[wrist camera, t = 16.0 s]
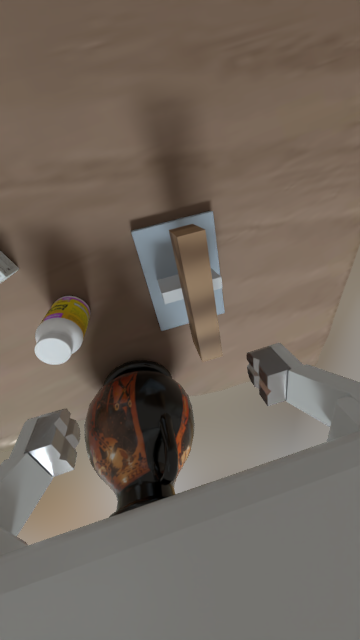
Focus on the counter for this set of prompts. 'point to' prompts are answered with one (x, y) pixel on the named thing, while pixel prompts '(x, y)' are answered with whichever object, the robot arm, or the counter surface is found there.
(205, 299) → the wooden block
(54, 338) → the supplement bottle
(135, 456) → the amphora vase
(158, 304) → the balance stand
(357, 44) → the counter surface
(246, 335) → the counter surface
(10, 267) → the small box
